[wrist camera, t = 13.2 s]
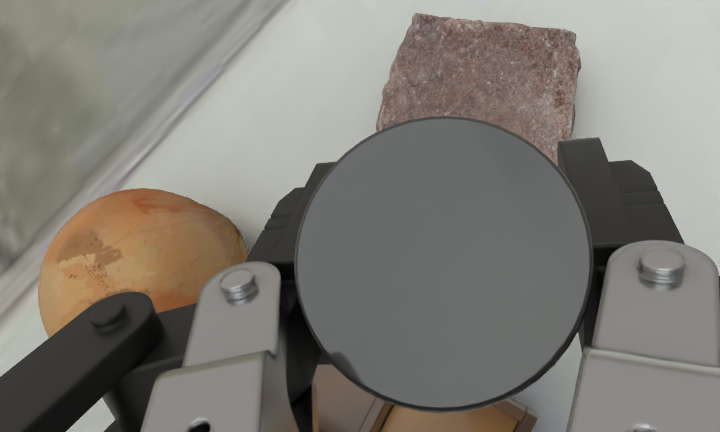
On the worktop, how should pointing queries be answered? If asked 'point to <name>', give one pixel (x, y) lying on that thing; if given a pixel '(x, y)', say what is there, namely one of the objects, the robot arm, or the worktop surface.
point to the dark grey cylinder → (444, 264)
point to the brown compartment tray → (406, 412)
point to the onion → (135, 253)
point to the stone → (486, 77)
